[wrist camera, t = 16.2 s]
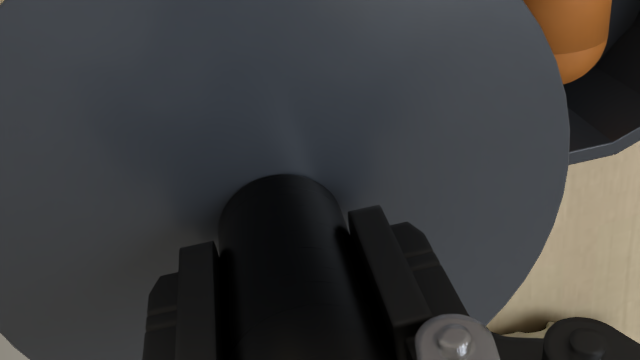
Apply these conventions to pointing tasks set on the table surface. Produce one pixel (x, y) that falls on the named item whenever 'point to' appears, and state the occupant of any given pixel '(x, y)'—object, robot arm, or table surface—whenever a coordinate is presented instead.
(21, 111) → the lid
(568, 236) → the table surface
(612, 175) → the table surface
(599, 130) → the pot
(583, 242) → the table surface
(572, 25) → the bread
